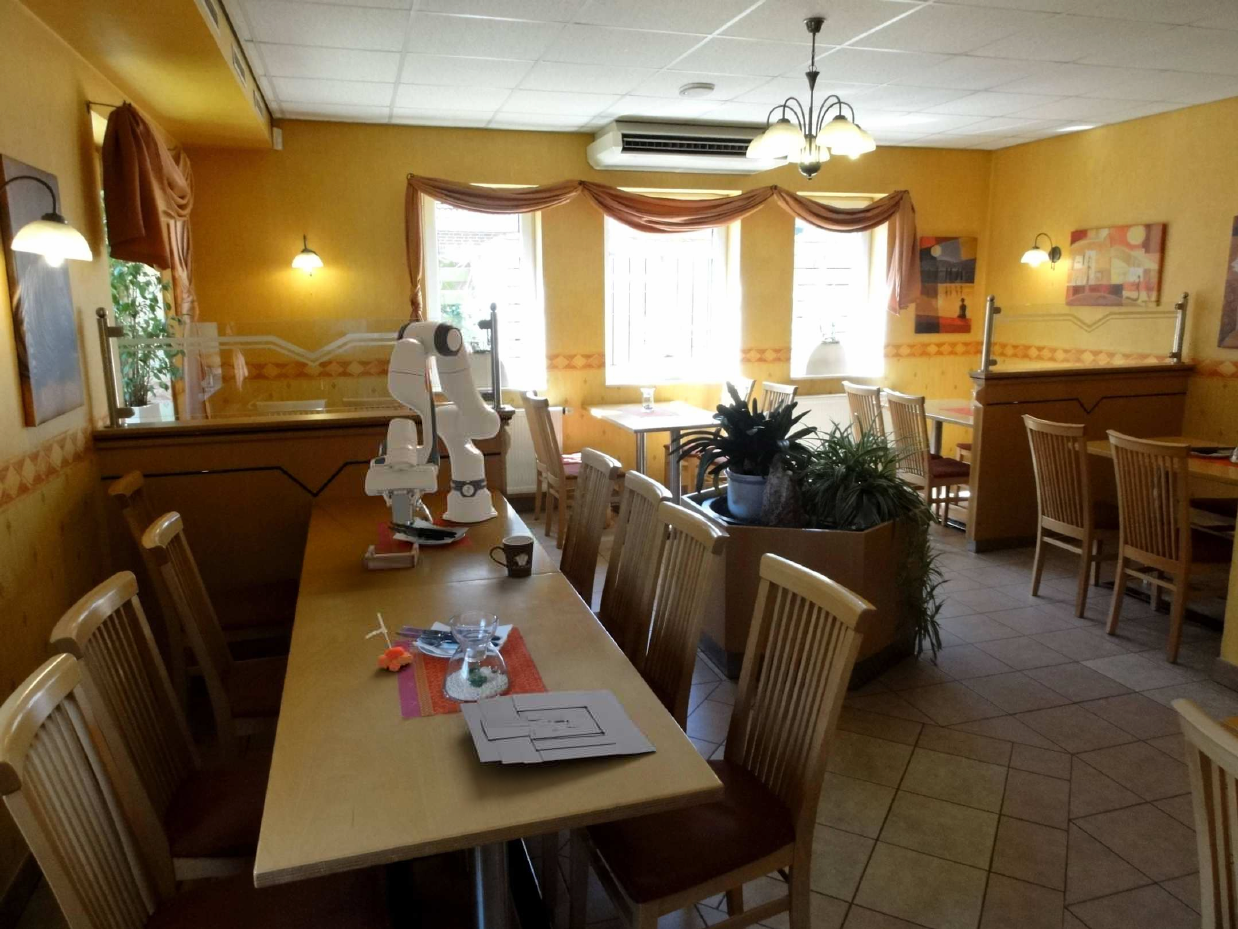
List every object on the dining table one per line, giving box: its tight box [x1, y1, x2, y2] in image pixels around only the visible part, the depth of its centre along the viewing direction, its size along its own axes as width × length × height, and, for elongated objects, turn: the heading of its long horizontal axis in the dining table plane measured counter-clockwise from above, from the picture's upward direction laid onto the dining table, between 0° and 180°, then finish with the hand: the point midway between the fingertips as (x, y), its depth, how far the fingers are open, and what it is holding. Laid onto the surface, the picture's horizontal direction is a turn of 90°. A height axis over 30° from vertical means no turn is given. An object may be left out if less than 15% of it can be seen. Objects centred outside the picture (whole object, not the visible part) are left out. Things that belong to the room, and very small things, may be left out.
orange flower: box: [364, 612, 414, 672], centre depth 176 cm, size 6×10×12 cm, turn 116°
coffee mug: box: [489, 534, 535, 579], centre depth 232 cm, size 12×9×10 cm
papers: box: [459, 689, 657, 765], centre depth 149 cm, size 24×30×4 cm
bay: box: [363, 542, 420, 571], centre depth 245 cm, size 12×14×4 cm
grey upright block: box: [390, 489, 413, 523], centre depth 240 cm, size 4×5×9 cm
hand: (401, 505), depth 239 cm, fingers closed on grey upright block, 5 cm apart
